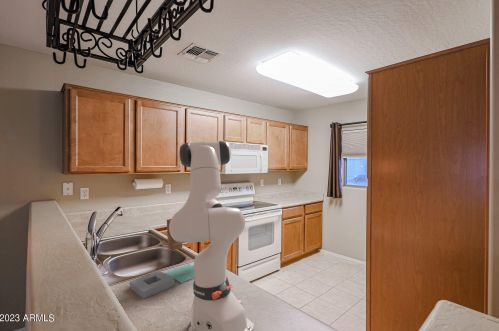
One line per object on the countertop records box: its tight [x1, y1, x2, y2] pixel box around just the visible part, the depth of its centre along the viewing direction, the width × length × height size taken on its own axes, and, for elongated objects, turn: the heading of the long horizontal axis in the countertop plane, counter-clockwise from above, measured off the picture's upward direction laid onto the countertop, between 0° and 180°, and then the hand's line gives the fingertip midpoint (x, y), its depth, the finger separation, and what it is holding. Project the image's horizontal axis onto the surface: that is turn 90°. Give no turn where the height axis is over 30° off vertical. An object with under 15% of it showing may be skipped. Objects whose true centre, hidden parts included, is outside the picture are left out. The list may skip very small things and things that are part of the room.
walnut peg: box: [166, 218, 183, 251], centre depth 117 cm, size 5×5×14 cm
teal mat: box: [164, 263, 194, 284], centre depth 121 cm, size 16×14×1 cm
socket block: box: [129, 270, 175, 300], centre depth 108 cm, size 14×14×3 cm
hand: (172, 231), depth 117 cm, fingers closed on walnut peg, 5 cm apart
